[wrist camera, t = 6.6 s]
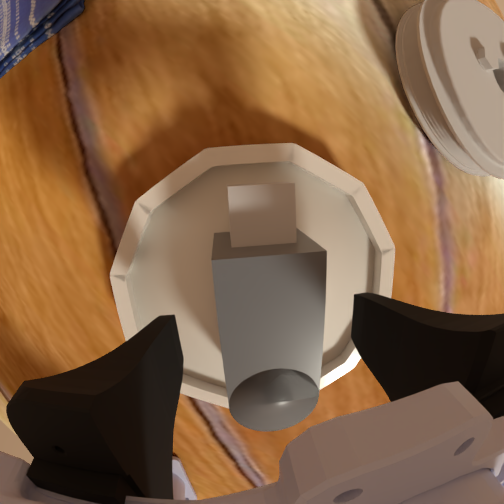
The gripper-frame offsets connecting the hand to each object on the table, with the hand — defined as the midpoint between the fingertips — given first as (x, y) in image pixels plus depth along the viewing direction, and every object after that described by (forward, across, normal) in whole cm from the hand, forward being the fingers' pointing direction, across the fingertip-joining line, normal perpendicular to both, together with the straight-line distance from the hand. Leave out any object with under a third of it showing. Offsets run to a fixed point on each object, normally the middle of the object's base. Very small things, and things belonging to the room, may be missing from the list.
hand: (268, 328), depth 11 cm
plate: (+5, 0, 0) cm, 5 cm away
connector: (+3, 0, 0) cm, 3 cm away
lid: (+5, -15, -12) cm, 20 cm away
